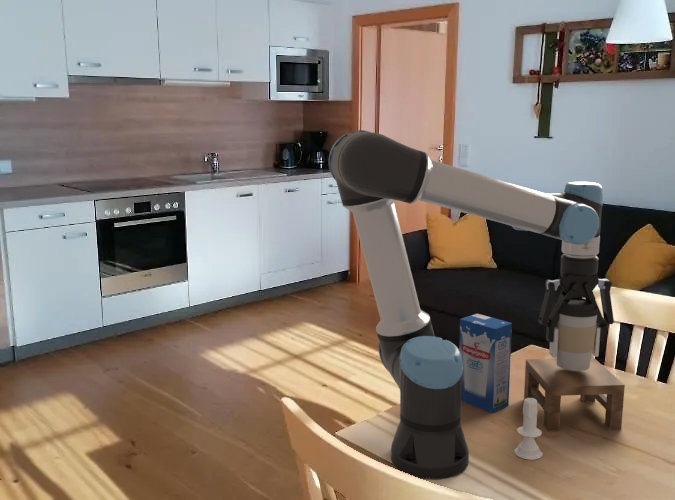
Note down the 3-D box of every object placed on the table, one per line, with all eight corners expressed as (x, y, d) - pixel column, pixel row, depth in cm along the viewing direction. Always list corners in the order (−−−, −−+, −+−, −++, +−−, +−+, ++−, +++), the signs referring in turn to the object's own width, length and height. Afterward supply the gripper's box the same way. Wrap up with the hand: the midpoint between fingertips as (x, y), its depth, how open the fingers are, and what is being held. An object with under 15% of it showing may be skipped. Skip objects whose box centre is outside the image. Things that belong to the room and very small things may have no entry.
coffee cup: (597, 374, 143) (602, 306, 140) (553, 371, 145) (557, 304, 142) (591, 359, 152) (595, 295, 149) (549, 356, 154) (552, 293, 151)
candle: (547, 453, 133) (550, 397, 131) (532, 463, 130) (535, 405, 127) (524, 444, 137) (526, 389, 135) (509, 453, 134) (511, 397, 131)
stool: (547, 431, 143) (549, 387, 141) (523, 399, 158) (525, 359, 156) (621, 428, 143) (624, 384, 141) (590, 397, 159) (593, 357, 157)
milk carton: (457, 399, 159) (459, 318, 155) (474, 392, 163) (476, 313, 159) (492, 413, 151) (495, 328, 147) (508, 405, 155) (512, 323, 151)
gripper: (536, 259, 139) (531, 362, 144) (637, 257, 140) (629, 359, 145) (525, 252, 147) (520, 350, 151) (620, 250, 147) (613, 347, 152)
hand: (573, 354), depth 148 cm, fingers closed on coffee cup, 9 cm apart
